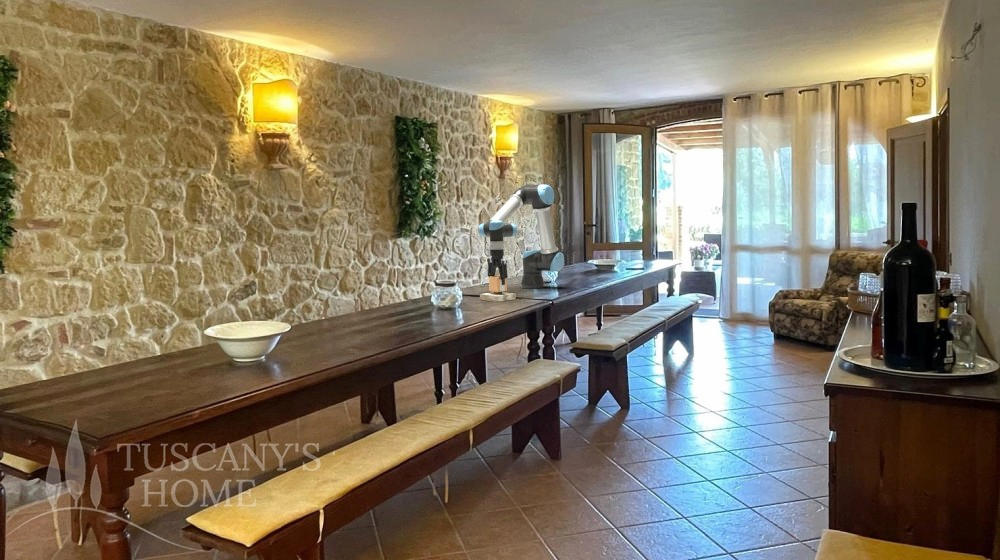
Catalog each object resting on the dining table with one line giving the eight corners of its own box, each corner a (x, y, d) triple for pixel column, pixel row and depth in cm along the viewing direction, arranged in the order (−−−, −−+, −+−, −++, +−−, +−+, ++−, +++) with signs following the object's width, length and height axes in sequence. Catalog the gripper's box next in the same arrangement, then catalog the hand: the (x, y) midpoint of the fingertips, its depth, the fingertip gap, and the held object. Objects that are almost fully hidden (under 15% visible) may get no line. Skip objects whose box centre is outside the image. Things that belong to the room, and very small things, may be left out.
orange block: (498, 289, 391) (498, 275, 390) (507, 290, 385) (506, 276, 384) (489, 291, 386) (488, 276, 385) (497, 292, 381) (496, 277, 380)
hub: (499, 296, 396) (499, 284, 395) (515, 299, 385) (515, 286, 384) (480, 299, 387) (479, 287, 386) (496, 301, 376) (496, 289, 376)
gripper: (480, 248, 388) (481, 289, 391) (503, 250, 373) (504, 292, 376) (490, 247, 393) (491, 288, 396) (513, 249, 378) (514, 291, 380)
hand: (497, 290), depth 386 cm, fingers closed on orange block, 7 cm apart
